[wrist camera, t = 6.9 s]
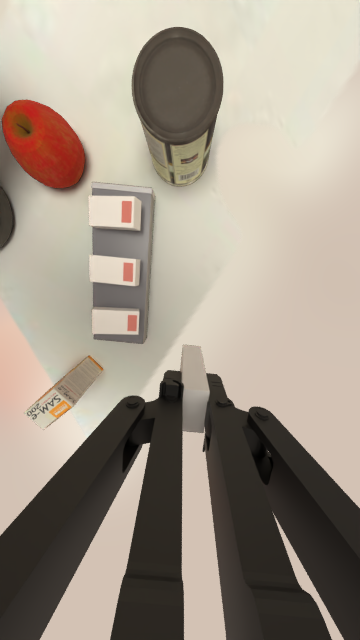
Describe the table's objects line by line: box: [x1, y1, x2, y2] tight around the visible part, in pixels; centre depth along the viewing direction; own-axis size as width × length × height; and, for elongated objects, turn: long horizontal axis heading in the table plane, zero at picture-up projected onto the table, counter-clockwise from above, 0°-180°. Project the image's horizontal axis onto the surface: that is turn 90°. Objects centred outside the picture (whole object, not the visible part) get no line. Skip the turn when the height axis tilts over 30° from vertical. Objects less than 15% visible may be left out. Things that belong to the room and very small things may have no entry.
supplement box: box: [24, 356, 103, 430], centre depth 41 cm, size 8×5×13 cm, turn 130°
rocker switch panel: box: [91, 182, 155, 344], centre depth 39 cm, size 10×28×5 cm, turn 175°
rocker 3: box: [92, 307, 139, 335], centre depth 38 cm, size 8×4×2 cm, turn 84°
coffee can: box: [132, 27, 223, 186], centre depth 30 cm, size 10×10×14 cm
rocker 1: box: [89, 196, 141, 231], centre depth 33 cm, size 8×4×2 cm, turn 85°
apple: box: [2, 100, 85, 188], centre depth 32 cm, size 10×10×10 cm
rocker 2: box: [89, 255, 140, 286], centre depth 35 cm, size 8×4×2 cm, turn 85°
